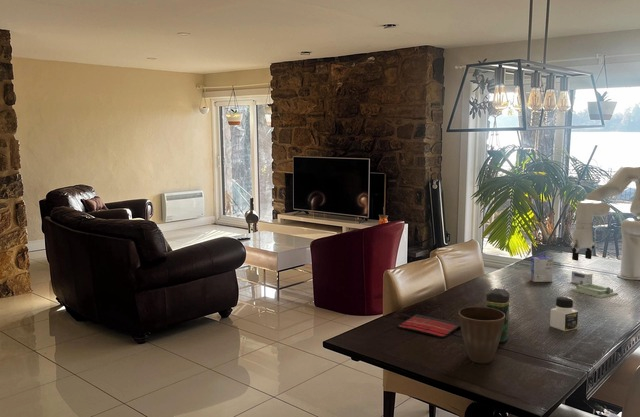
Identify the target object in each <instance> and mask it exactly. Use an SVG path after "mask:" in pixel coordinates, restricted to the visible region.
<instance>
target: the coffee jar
mask: <svg viewBox="0 0 640 417" xmlns="http://www.w3.org/2000/svg"><path fill="white" fill-rule="evenodd" d="M510 295H511V294H510V293H509V291H507V289H505V288H504V289H503V288H493V289H491V290H489V291H488V292H487V293H486V297H485V307H487V308H493V309H497V310H499V311H501V312H503V313H504V314H505V320H504V326H503V330H502V334H501V338H500V341H499V343H505V342H506V341H507V340H508V337H509V320H510V319H509V318H510V317H509V316H510Z"/></svg>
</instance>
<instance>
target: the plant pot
mask: <svg viewBox="0 0 640 417" xmlns="http://www.w3.org/2000/svg"><path fill="white" fill-rule="evenodd" d="M458 317H459V324H460V327H461V328H460V331H461V335H462V340H463V344H464V347H465V351H466V353H467V356H468V358H469V360H470V361H472V362H473V363H476V364H489V363H491V362H492V360H493V358H494V357H495V355H496V352H497V349H498V346H499V344H500V342H499V341H500V338H501V334H502V330H503V326H504V320H505V314H504V313H503V312H501V311H499V310H497V309H493V308H487V307H486V306H468V307H463V308H461V309H460V310H458Z"/></svg>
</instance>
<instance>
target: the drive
mask: <svg viewBox="0 0 640 417" xmlns="http://www.w3.org/2000/svg"><path fill="white" fill-rule="evenodd" d="M593 274H594V273H592V272H591V273H590V272H587V271H584V270H583V271H582V270H578V269H575V270H571V278H570V279H571V283H572V284H573V283H574V284H576V285H580V281H583V284H587V283H590V284H593Z"/></svg>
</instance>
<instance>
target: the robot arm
mask: <svg viewBox="0 0 640 417" xmlns="http://www.w3.org/2000/svg"><path fill="white" fill-rule="evenodd" d="M632 182H634V183H635V188H636V189H635V192H634V196H633V199H632V201H631V205H630V210H629V212H630V214H631V215H632V216H635V217H636V218H635V217H628V218H625V219H623V220H622V222H621V224H620V232H621V258H620V272H618V273H617V275H616V276H617V277H618V278H619V279H623V280H630V281H640V218H637V217H640V164H624V165H621V167H620V168H619V169H618V170H616V172H615V173H614V174H613V176H611V178H610V179H609V180H608V181H607V183H604V184H603V185H601V186H599V187H597V188H595V189H594V190H592V191H590V192H589V193H588V194H587V195H586V196H585V198H584V199H583V200H581V201H578V202H577V204H576V218H575V228H574V229H573V233H572V234H573V235H572V240H571V243H570V244H569V246H570V251H571V252H572V255H571V256H572V257H571V260H572V261H576V262H578V261H579V256H580V255H579V251H580V250H583V249H584V250H585V249H586V250H585V255H584V258H585V259H587V260H588V259H589V260H592V257H593V256H592V255H593V254H592V253H593V251H594V249H595V245H596V241H594V238H593V237H594V236H593V221H594V217H605V216H607V215H608V214H609V213H610V211H611V208H610V205H609V204H608V203H607V202H605V201H603V200H605V199H609V198H613V197H616V196H619V195H621V194H623V192H625V190H626V189H627V187H629V185H630V184H631V183H632Z"/></svg>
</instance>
